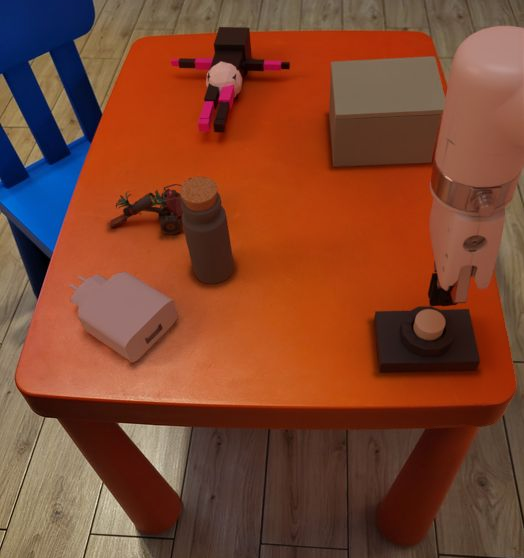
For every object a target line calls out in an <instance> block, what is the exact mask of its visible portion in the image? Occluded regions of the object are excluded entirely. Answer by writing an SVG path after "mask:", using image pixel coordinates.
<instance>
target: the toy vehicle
mask: <svg viewBox="0 0 524 558" xmlns="http://www.w3.org/2000/svg"><path fill="white" fill-rule="evenodd" d="M191 178H192V177H188V179H187V180H189V179H191ZM187 180H184V182H186V181H187ZM182 185H183V184H178V183H173V184H171V185H167V186H163V189H162V190H163V192H162V193H161V194H160V193H159V189H156V190H155V191H154V193H153V192H148V193H147V194H144V196H142V197H140V198H139V199H138V200H137V201H134V202H133V203H130V201H129V197H130V196H132V195H133V194H132V193H129V192H130V190H127V191H126V192H125V196H123V195H122V194H120V196H119V197H120V198H119V199H118V200H117V202H116V203H115V208H116V209H120V208H123V210H122V214H120V215H118V216H117V217H115V218H112V219H111V220H110V224H109V225H110V226H109V227H110V228H111V229H113V228H115V227H118V226H120V225H121V224H123V223H125V222H127V221H128V219H129V218H131V217H133V216H136V215H138V214H139V215H141V216H142V213H141V212H149V213H156V214H158V216H157V219H158V222H159V223H160V224H159V225H160V231H161V232H163V233H165V235H167V236H168V235H172V236H175V235H177V234H178V233H179V232H181V230H182V220H181V219H178V217H180V216H182V213H183V211H182V207H181V199H182V197H181V195H180V192H177V190H175V189H170V188H171V187H174V186H179V187H181V186H182ZM128 193H129V194H128ZM158 206H159V207H158Z"/></svg>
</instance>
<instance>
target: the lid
mask: <svg viewBox="0 0 524 558" xmlns="http://www.w3.org/2000/svg"><path fill="white" fill-rule="evenodd" d="M331 73H332V85H333V97H334V109H335V119H352V118H373V117H394V116H415V115H436V114H441V115H443V110H444V104H445V99H446V94H445V92H444V91H445V90H444V89H443V88H444V86H443V83H442V80H441V75H440V71H439V68H438V63H437V59H436V55H430V56H429V55H427V56H412V57H393V58H391V57H390V58H378V59H377V58H375V59H373V58H372V59H356V60H355V59H354V60H353V59H352V60H337V61H336V60H335V61H330V74H331Z"/></svg>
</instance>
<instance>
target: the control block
mask: <svg viewBox="0 0 524 558" xmlns="http://www.w3.org/2000/svg"><path fill="white" fill-rule="evenodd" d="M426 309H432V310H436V311H438V312H440V313H441V314H442V315H443V316H444V318H445V327H444V330H443V333H442V335H441V336H440V337H439V338H438V339H436V340H433V341H426V340H423V339H421V338H419V337H418V336H417V335H416V334H415V332H414V329H413V326H414V322H415V318H416V315H417V314H418V313H419V312H420V311H422V310H426ZM373 328H374V336H375V346H376V355H377V363H378V372H379V373H423V372H425V373H426V372H466V371H467V372H468V371H469V372H470V371H472V372H473V371H475V372H476V371H477V369H478V368H479V365H480V363H481V359H480V354H479V348H478V345H477V340H476V335H475V331H474V326H473V322H472V316H471V312H470V309H469V308H454V309H453V308H452V309H451V308H450V309H440V308H438V307H436V306H430V305H429V306H428V305H427V306H425V305H424V306H416V307H415V308H413V309H411V310H379V311H377V310H376V311H375V312H374V317H373Z"/></svg>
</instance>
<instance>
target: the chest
mask: <svg viewBox="0 0 524 558" xmlns="http://www.w3.org/2000/svg"><path fill="white" fill-rule="evenodd" d="M329 76H330V79H329V80H330V81H329V103H328V105H329V107H328V108H329V109H328V117H329V118H328V119H329V130H330V131H329V132H330V142H331V144H330V145H331V156H332V167H336V168H337V167H358V166H359V167H361V166H381V165H382V166H384V165H387V166H388V165H408V164H409V165H410V164H431V163H432V161H433V156H434V153H435V152H434V151H435V147H436V144H437V143H436V142H437V139H438V134H439V133H438V132H439V130H440V125H441V120H442V114H436V115H415V116H394V117H373V118H352V119H335V109H334V97H333V85H332V73H331V72H330V75H329Z"/></svg>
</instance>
